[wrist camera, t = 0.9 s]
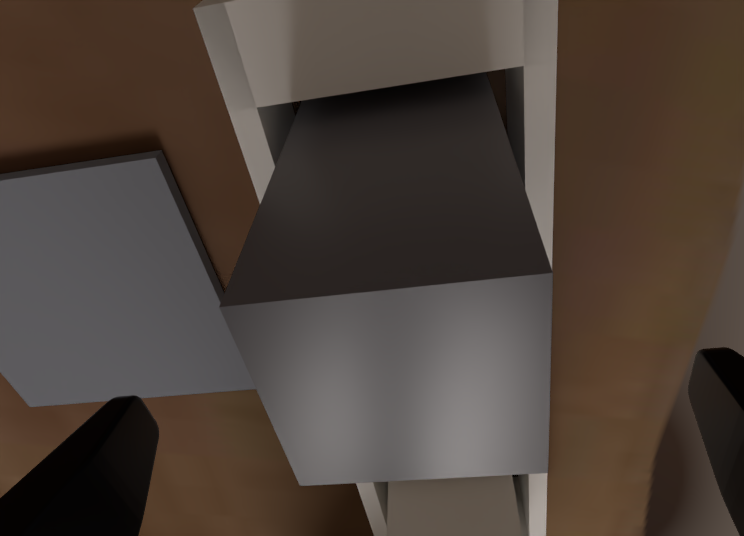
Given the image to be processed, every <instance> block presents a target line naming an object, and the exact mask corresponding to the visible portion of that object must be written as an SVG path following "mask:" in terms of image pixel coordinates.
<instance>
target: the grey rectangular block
mask: <svg viewBox="0 0 744 536" xmlns="http://www.w3.org/2000/svg"><path fill="white" fill-rule="evenodd" d="M552 288H553V272H552V269H551V266H550V263H549V260H548V257H547V254H546V251H545V248H544V245H543V242H542V239H541V236H540V233H539V230H538V227H537V224H536V221H535V218H534V215H533V212H532V209H531V206H530V203H529V200H528V197H527V194H526V191H525V188H524V185H523V182H522V178H521V175H520V172H519V169H518V166H517V163H516V160H515V157H514V154H513V151H512V148H511V145H510V142H509V139H508V136H507V133H506V130H505V127H504V124H503V121H502V118H501V115H500V112H499V109H498V106H497V103H496V100H495V97H494V94H493V91H492V88H491V85H490V82H489V79H488V76H487V73H486V72H481V73H475V74H469V75H462V76H456V77H449V78H443V79H437V80H430V81H424V82H417V83H411V84H405V85H398V86H392V87H385V88H379V89H373V90H366V91H360V92H354V93H347V94H341V95H334V96H328V97H322V98H315V99H309V100H302V101H301V104H300V106H299V109H298V111H297V114H296V116H295V119H294V121H293V124H292V126H291V129H290V131H289V134H288V136H287V139H286V141H285V144H284V146H283V149H282V151H281V154H280V156H279V159H278V161H277V164H276V166H275V169H274V171H273V174H272V176H271V179H270V181H269V184H268V186H267V189H266V191H265V194H264V196H263V199H262V201H261V204H260V206H259V209H258V211H257V214H256V216H255V219H254V221H253V224H252V226H251V229H250V231H249V234H248V236H247V239H246V241H245V244H244V246H243V249H242V251H241V254H240V256H239V259H238V261H237V264H236V266H235V269H234V271H233V274H232V276H231V279H230V281H229V284H228V286H227V289H226V291H225V294H224V296H223V299H222V301H221V304H220V306H219V308H220V310H221V313H222V315H223V317H224V319H225V321H226V324H227V326H228V328H229V330H230V332H231V335H232V337H233V339H234V341H235V343H236V346H237V348H238V350H239V352H240V354H241V357H242V359H243V361H244V363H245V366H246V368H247V370H248V372H249V374H250V377H251V379H252V381H253V383H254V385H255V388H256V390H257V392H258V394H259V396H260V399H261V401H262V403H263V405H264V407H265V410H266V412H267V414H268V416H269V418H270V421H271V423H272V425H273V427H274V429H275V432H276V434H277V436H278V438H279V441H280V443H281V445H282V447H283V449H284V452H285V454H286V456H287V458H288V460H289V463H290V465H291V467H292V469H293V471H294V474H295V476H296V478H297V480H298V482H299V485H300V486H310V485H329V484H348V483H368V482H387V481H406V480H425V479H444V478H463V477H482V476H501V475H521V474H540V473H548V452H549V411H550V370H551V329H552Z"/></svg>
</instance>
